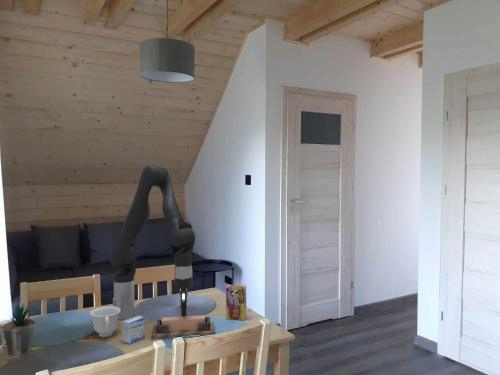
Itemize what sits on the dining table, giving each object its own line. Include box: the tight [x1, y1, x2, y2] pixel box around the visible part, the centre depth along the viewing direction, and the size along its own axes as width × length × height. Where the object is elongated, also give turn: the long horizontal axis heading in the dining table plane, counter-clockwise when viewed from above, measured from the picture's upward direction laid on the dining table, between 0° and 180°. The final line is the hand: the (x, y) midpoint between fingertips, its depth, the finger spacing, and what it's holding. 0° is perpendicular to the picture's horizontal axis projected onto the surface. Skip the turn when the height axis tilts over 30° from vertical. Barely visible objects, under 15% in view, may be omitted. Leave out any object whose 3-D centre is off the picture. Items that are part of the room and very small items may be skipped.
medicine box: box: [121, 315, 146, 345], centre depth 167 cm, size 8×4×9 cm, turn 148°
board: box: [150, 316, 216, 340], centre depth 175 cm, size 26×12×4 cm, turn 98°
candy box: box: [225, 284, 247, 321], centre depth 191 cm, size 9×4×15 cm, turn 79°
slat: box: [161, 314, 206, 331], centre depth 175 cm, size 18×4×4 cm, turn 98°
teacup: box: [89, 305, 120, 338], centre depth 171 cm, size 12×15×10 cm
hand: (183, 316), depth 174 cm, fingers closed
